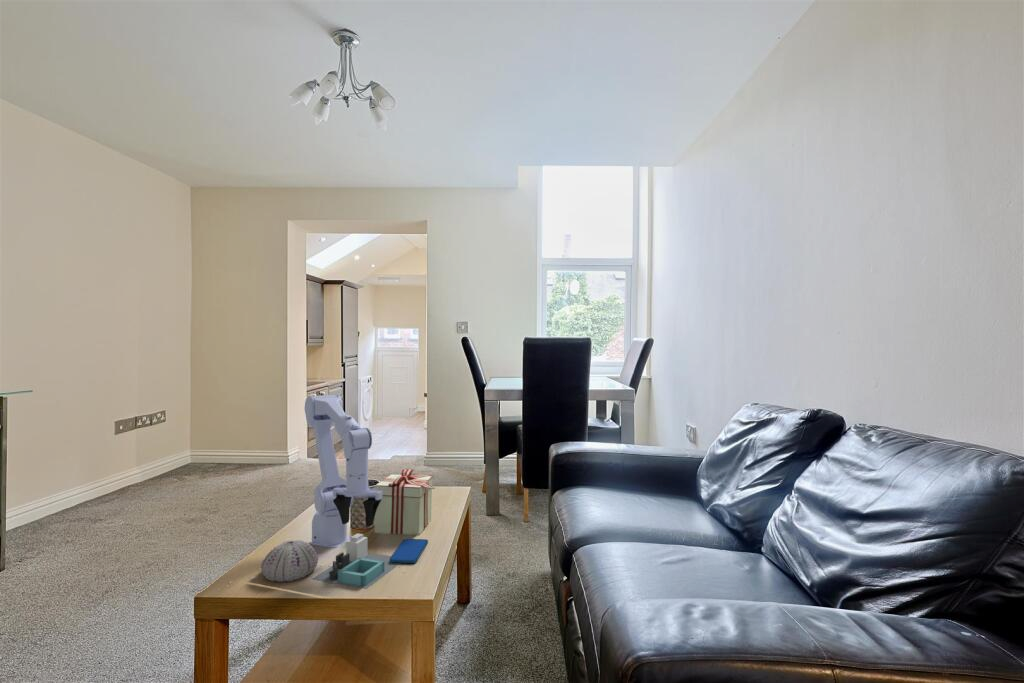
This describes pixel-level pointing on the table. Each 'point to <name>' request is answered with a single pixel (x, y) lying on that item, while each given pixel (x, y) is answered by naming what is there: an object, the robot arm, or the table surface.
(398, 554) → the smartphone
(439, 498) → the table surface
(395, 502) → the gift box
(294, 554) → the sea urchin shell
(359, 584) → the board
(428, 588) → the table surface
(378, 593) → the table surface
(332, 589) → the table surface
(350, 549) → the connector plug
